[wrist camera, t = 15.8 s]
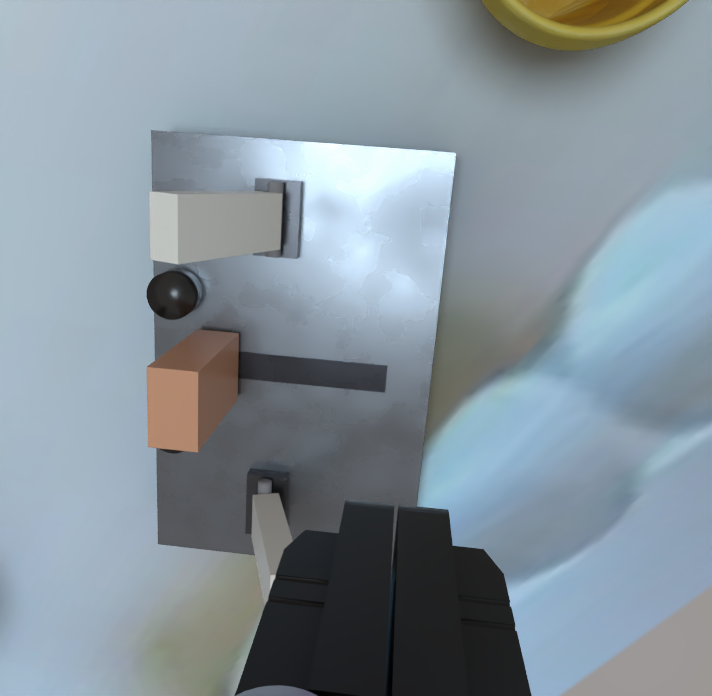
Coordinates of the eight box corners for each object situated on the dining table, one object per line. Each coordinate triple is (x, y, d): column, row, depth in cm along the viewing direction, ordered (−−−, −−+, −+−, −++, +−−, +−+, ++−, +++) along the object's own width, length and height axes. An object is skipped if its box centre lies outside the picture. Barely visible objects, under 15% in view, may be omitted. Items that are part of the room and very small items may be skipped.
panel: (452, 154, 35) (458, 152, 31) (409, 545, 42) (409, 588, 38) (172, 133, 36) (139, 128, 32) (175, 519, 43) (148, 558, 39)
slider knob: (238, 333, 36) (197, 371, 29) (237, 399, 37) (197, 452, 30) (197, 329, 36) (146, 367, 29) (197, 395, 37) (148, 447, 30)
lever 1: (292, 183, 32) (177, 181, 25) (289, 257, 33) (178, 276, 26) (268, 180, 33) (149, 178, 26) (265, 254, 34) (150, 271, 27)
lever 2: (276, 477, 38) (302, 562, 30) (274, 534, 39) (298, 630, 31) (251, 479, 37) (270, 566, 29) (249, 536, 38) (268, 634, 30)
